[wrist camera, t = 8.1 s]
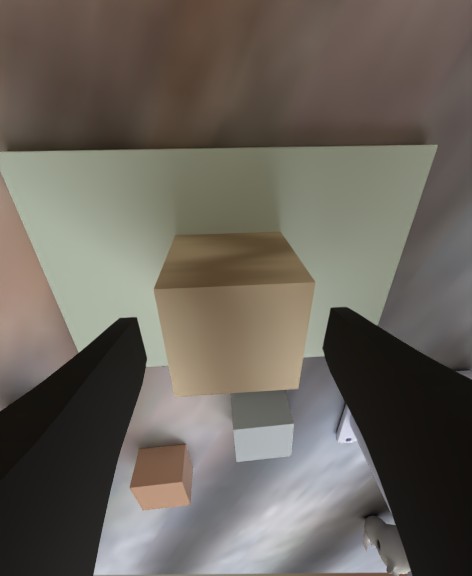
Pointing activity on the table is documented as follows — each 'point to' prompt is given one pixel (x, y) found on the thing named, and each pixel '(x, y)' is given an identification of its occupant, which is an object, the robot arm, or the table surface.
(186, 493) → the terracotta block
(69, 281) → the sage board
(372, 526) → the toy rhinoceros
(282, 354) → the maple block
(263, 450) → the grey-blue block
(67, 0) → the table surface
